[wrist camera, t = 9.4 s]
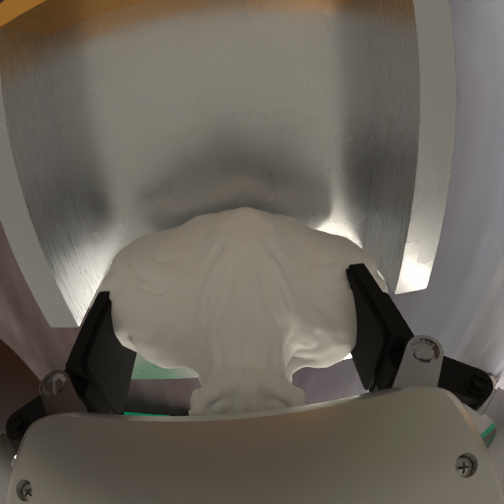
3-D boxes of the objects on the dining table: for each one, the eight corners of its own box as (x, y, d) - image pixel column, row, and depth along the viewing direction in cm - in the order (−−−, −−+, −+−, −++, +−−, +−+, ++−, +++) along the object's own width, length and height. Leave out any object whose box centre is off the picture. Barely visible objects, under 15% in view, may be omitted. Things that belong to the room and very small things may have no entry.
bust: (139, 245, 17) (130, 443, 12) (87, 164, 10) (56, 485, 5) (345, 247, 17) (356, 442, 13) (404, 170, 10) (437, 479, 6)
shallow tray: (383, -15, 9) (440, -39, 5) (361, 345, 21) (383, 396, 17) (32, 30, 9) (-29, 24, 4) (131, 369, 21) (120, 422, 17)
